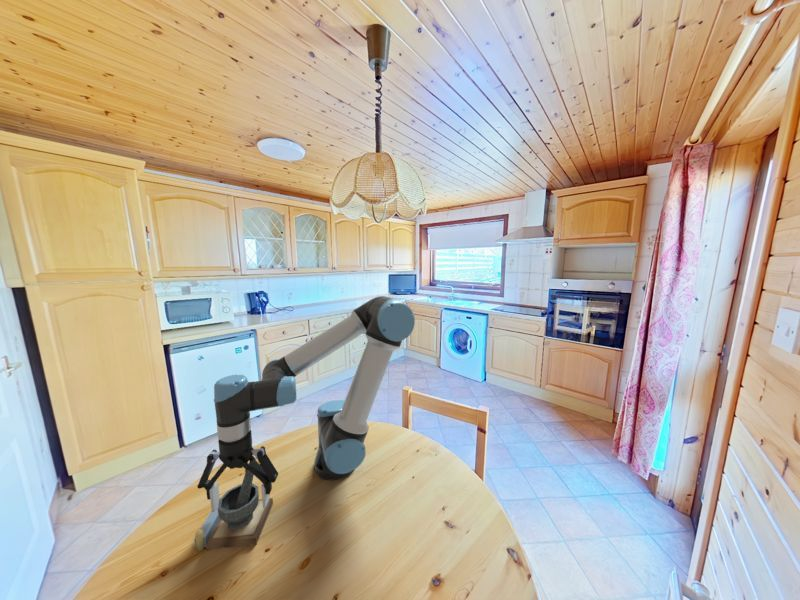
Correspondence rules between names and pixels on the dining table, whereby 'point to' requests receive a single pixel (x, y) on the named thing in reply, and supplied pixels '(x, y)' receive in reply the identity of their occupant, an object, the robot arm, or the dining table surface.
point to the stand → (240, 530)
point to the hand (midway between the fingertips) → (241, 505)
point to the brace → (206, 530)
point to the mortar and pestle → (239, 503)
